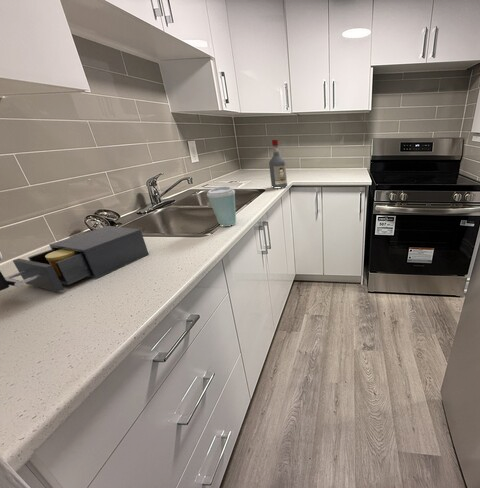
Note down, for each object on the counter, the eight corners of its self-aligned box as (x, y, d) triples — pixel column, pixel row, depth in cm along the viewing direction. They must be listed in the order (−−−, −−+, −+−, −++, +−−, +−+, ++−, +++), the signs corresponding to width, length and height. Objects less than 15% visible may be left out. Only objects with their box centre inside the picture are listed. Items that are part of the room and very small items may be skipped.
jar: (50, 279, 67) (40, 259, 65) (60, 269, 72) (50, 250, 70) (81, 273, 70) (72, 254, 67) (88, 263, 75) (80, 245, 72)
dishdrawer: (97, 278, 71) (84, 250, 67) (62, 271, 75) (48, 244, 72) (149, 254, 84) (140, 229, 81) (117, 249, 89) (107, 225, 85)
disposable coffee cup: (234, 229, 104) (227, 191, 98) (208, 229, 105) (200, 191, 99) (244, 220, 113) (238, 185, 107) (220, 220, 114) (213, 186, 108)
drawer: (32, 303, 59) (17, 277, 57) (-1, 294, 63) (-17, 269, 61) (118, 264, 76) (109, 243, 73) (87, 259, 80) (78, 238, 77)
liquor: (270, 187, 179) (264, 140, 167) (281, 185, 184) (277, 139, 172) (277, 189, 172) (272, 140, 160) (288, 187, 178) (284, 139, 166)
